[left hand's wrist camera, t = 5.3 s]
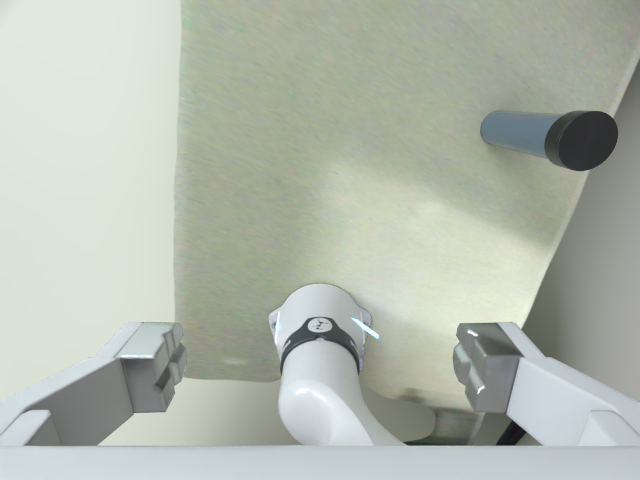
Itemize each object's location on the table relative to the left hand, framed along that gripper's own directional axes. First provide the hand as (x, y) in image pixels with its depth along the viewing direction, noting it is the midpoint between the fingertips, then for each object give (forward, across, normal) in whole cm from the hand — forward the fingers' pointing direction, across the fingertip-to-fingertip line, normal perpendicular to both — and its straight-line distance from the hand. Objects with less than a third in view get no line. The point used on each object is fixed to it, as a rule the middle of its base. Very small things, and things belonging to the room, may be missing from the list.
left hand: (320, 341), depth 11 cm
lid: (+28, +27, +3) cm, 39 cm away
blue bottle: (+48, +27, +3) cm, 55 cm away
